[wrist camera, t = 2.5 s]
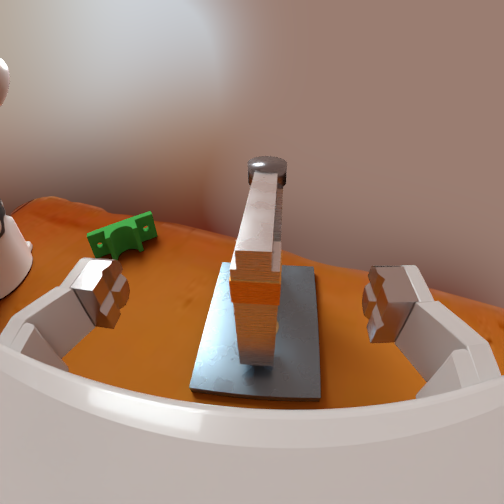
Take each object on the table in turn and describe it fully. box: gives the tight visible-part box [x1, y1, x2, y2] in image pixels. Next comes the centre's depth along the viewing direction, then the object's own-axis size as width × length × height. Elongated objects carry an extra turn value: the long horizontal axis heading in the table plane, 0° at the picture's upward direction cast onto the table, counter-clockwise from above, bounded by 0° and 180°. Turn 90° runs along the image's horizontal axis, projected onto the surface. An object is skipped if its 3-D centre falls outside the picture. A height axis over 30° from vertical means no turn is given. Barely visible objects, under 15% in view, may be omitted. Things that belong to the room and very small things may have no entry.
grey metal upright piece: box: [235, 156, 287, 273], centre depth 25 cm, size 4×15×15 cm, turn 174°
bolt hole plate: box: [189, 262, 321, 402], centre depth 30 cm, size 12×18×1 cm, turn 174°
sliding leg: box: [229, 241, 282, 367], centre depth 22 cm, size 3×3×13 cm
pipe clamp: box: [87, 211, 157, 260], centre depth 40 cm, size 11×4×5 cm, turn 120°
